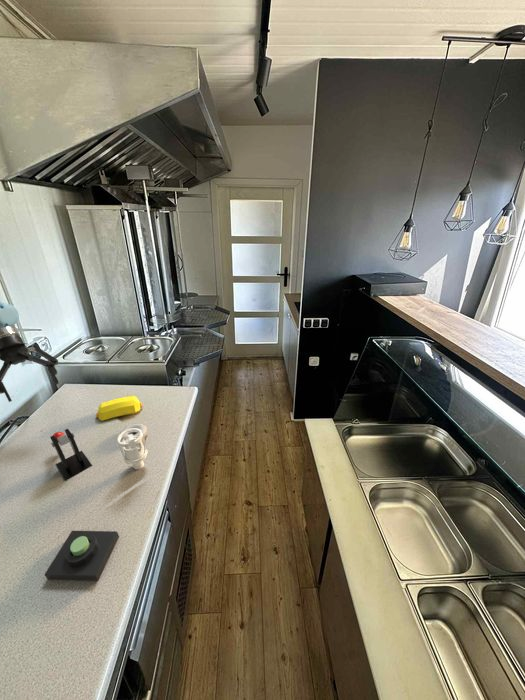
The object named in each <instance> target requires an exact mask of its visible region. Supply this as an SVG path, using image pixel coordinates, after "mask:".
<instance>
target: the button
mask: <svg viewBox="0 0 525 700" xmlns="http://www.w3.org/2000/svg"><path fill="white" fill-rule="evenodd" d="M89 545H90V543H89V541H88V539H87V537H85V536H81V537H79V538H77V539H75V540H74V541H73V543H72V544H71V546H70V550H71V552H72V554H73V555H74V556H80V555H82V554H84V553H85V552H86V551H87V550H88V548H89Z"/></svg>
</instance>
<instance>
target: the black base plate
mask: <svg viewBox="0 0 525 700" xmlns="http://www.w3.org/2000/svg"><path fill="white" fill-rule="evenodd" d="M81 536H85V537H87V539H88V541H89V543H90V545H89V548H88V550H87V551H86V552H85V553H84V554H82V555H80V556H74V555H73V554H72V552H71V550H70V546H71V544H72V543H73V541H74V540H75V539H77V538H79V537H81ZM119 538H120V536H119V532H118V531H117V530H116V531H114V530H113V531H112V530H111V531H110V530H71V531H70V533H69V534H68V536H67V538H66V539H65V541H64V542H63V544H62V546H61V547H60V549H59V551H58V552H57V554H56V555H55V557H54V558H53V560H52V562H51V563H50V565H49V566H48V568H47V570H46V571H45V572H44V577H45V578H46V579H47V580H48V581H80V582H81V581H83V582H99V580H100V579H101V577H102V574H103V572H104V569H105V568H106V566H107V563H108V562H109V560H110V557H111V555H112V553H113V551H114V549H115V546H116V544H117V542H118V540H119Z"/></svg>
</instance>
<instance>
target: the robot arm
mask: <svg viewBox="0 0 525 700" xmlns="http://www.w3.org/2000/svg"><path fill="white" fill-rule="evenodd" d="M19 319H20V313H19V311H18V309H17V308H16V307H15V306H14V305H13V304H10V303H6V302H5V303H4V302H1V301H0V361H2V362H3V364H2V366H1V368H0V395H2V394H4V395H5V397H6V399H7V400H8V403H10V402H12V401H13V400H12V398H11V396H10V394H9V392H8V390H7V388H6V387H5V384H4V381H3V380H4V378H5V376H6V374H7V373H8V370H9V369H10V368H11V365H14V366H16V365H19V364H22V363H26V361H27V362H32V363H35V364H39V365H41V366H44V367H46V368H47V370H48V372H49V374H50V376H51V378H52V380H53V381H54V383H55V385H59V379H58V377H57V375H58V371H57V369H56V366H57V365H59V360H58V358H56V357H54V356H52V355H51V354H50V353H48V352H46V351H45V350H43V349H42V348H40V347H39V345H38V344H37V343H34V344H33V346H29V347H27V345H26V344H25V342H24V340H23V338H22V336H21V334H20V332H19V330H18V328H17V327H16V324H17V323H18V321H19ZM31 352H33V353H37V354H38V355H39V356H41V357H42V358H41V357H39V356H35V355H34V354H31Z"/></svg>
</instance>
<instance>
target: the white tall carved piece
mask: <svg viewBox="0 0 525 700" xmlns="http://www.w3.org/2000/svg"><path fill="white" fill-rule="evenodd" d="M130 432H139V433H140V436H139V438H138V436H133V435H134V434H133V433H131V434H130V435H128V437H129V438H128V439H126V440H124V439H123V441H122V442H120V440H121V438H122V437H123V436H124V435H126V434H128V433H130ZM119 434H120V433H119ZM141 439H142V440H141ZM117 443H118V446H119V450H120V453H121V455H122V457H123V462H124V463H125V464H127V465H133V468H134V470H140V469H142V468H143V467H144V466H145V463H144V460H145V459H146V457H147V456H148V453H149V452H148V449H147V446H146V445H147V444H146V441H145V439H144V437H143V434H142V431H141V430H140V429H138V428H131V429H128V430H126V431H124V432H122V433H121V434H120V435H118V436H117Z"/></svg>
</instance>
